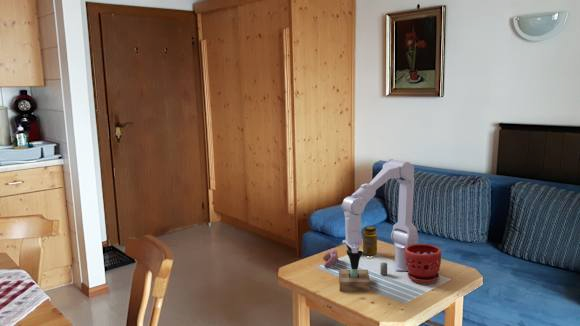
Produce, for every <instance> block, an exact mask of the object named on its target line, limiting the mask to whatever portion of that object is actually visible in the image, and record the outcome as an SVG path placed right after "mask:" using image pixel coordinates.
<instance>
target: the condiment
mask: <svg viewBox="0 0 580 326" xmlns="http://www.w3.org/2000/svg"><path fill="white" fill-rule="evenodd" d="M378 255H381V252H378V234H377V227H376V226H374V225H373V226H372V225H366V226H364V227H363V233H362V255H361V256H362V258H366V259H369V260H370V259H373V258H374V257H377V256H378ZM367 256H369V257H367ZM371 256H373V257H371Z"/></svg>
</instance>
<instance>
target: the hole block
mask: <svg viewBox="0 0 580 326" xmlns="http://www.w3.org/2000/svg"><path fill="white" fill-rule="evenodd" d="M338 284H339V285H338V286H339V287H338V288H339V292H370V291H371V279H370V274H369V269H358V278H351V272H350V269H339V270H338Z"/></svg>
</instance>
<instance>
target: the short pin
mask: <svg viewBox="0 0 580 326" xmlns="http://www.w3.org/2000/svg"><path fill="white" fill-rule="evenodd" d="M379 268H380V270H379V271H380V274H381V275H382V277H387V276H388V263H387V262H380V267H379ZM381 275H380V276H381Z"/></svg>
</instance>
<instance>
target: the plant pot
mask: <svg viewBox="0 0 580 326" xmlns="http://www.w3.org/2000/svg"><path fill="white" fill-rule="evenodd" d="M418 251H419V252H420V253H419V254H417V252H418ZM412 252H413V253H412ZM409 259H410V261H409ZM405 261H406V265H407V268H408V271H407V277H408V278H409V279H410V281H413V282H414V283H417V284H418V283H419V284H433V283H435V282H437V281H438V280H439V279H440V273H439V270H440V268H441V262H442V250H441V248H440V247H438V246H436V245H432V244H426V243H417V244H415V245H410V246H407V247H406V248H405Z"/></svg>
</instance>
